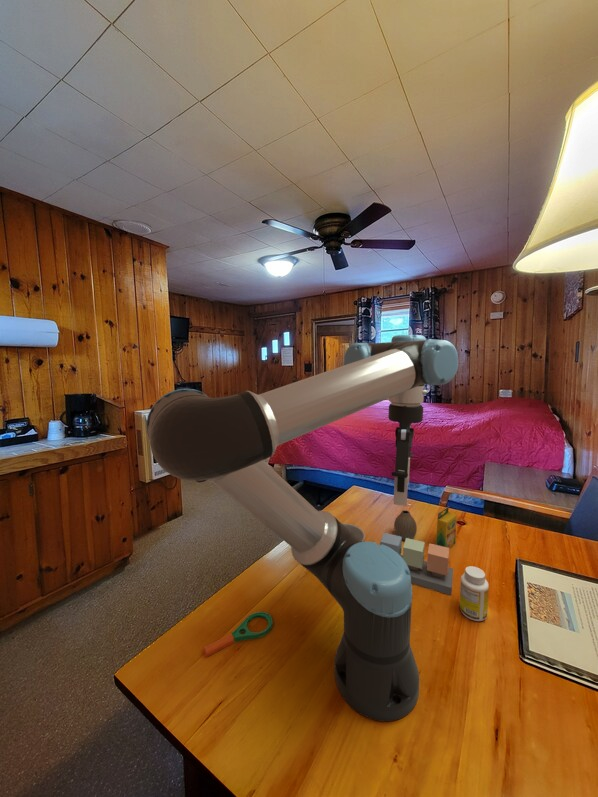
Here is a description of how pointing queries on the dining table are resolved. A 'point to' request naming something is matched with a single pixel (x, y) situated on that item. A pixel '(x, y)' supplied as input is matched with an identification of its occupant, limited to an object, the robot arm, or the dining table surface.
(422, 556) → the button sage
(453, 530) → the crayon box
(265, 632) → the magnifying glass
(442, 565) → the button terracotta
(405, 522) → the vase
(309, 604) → the dining table surface
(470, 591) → the supplement bottle
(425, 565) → the button board
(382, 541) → the button slate
